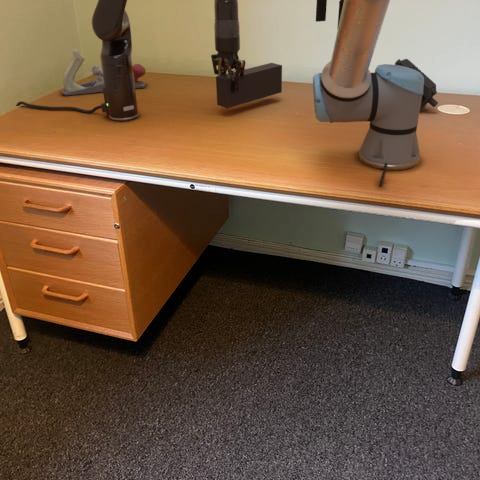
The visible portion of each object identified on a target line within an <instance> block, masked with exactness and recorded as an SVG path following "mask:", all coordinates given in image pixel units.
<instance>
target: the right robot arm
mask: <svg viewBox="0 0 480 480" xmlns="http://www.w3.org/2000/svg"><path fill="white" fill-rule="evenodd" d="M390 2H391V0H339V1H338V15H337V18H338V19H337V32H336V36H335V40H334V45H333V50H332V55H331V58H330V61H328V62H327V63H326V64H325V65H324V67H323V69H322V70H321V71H322V72H318V73H315V74H314V75H313V77H312V88H313V105H314V115H315V119H316V120H317V121H318V122H319V123H329V124H334V123H361V122H363V123H364V122H365V123H366V122H368V123H369V126H368V130H367V132H366V135H364V136H365V137H364V138H363V141H362V143H361V145H360V147H359V151H358V159H359V160H360V162H362V163H363V164H364V165H367V166H369V167H372V168H374V169H378V170H382V173H381V177H380V180H379V183H378V186H379V187H380V188H381V187H382V186H383V183H384V179H385V174H386V172H387V171H403V170H408V169H412V168H414V167H416V166H418V164H419V163H420V158H421V156H420V155H421V153H420V151H421V150H420V146H419V140H418V135H417V130H418V124H419V119H420V111H421V109H420V106H421V101H422V95H423V93H424V92H423V87H424V77H423V75H422V74H421V73H420V72H418V71H416V70H414V69H411V68H408V67H404V66H399V65H395V64H389V63H385V64H379V65H377V66H376V68H375V69H374V72H371V71H370V65H371V63H372V60H373V59H372V58H373V56H374V52H375V50H376V46H377V43H378V40H379V37H380V34H381V30H382V27H383V24H384V21H385V17H386V15H387V12H388V9H389V5H390ZM327 6H328V0H316V7H315V22H316V23H317V22H319V23H320V22H326V21H327V20H326V19H327Z"/></svg>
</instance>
